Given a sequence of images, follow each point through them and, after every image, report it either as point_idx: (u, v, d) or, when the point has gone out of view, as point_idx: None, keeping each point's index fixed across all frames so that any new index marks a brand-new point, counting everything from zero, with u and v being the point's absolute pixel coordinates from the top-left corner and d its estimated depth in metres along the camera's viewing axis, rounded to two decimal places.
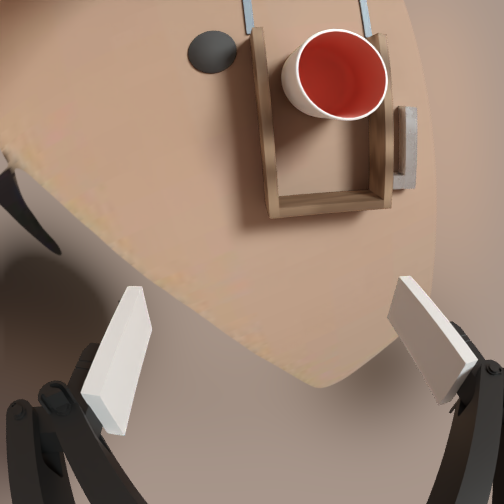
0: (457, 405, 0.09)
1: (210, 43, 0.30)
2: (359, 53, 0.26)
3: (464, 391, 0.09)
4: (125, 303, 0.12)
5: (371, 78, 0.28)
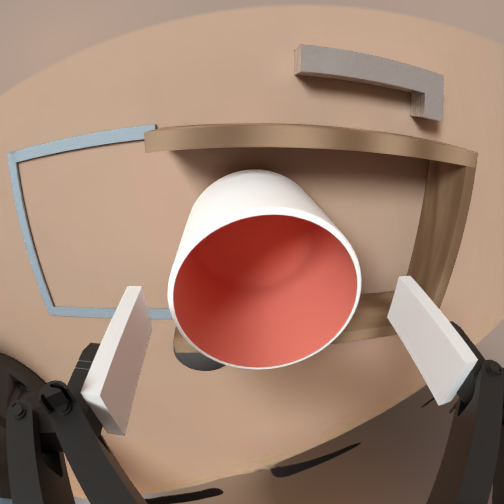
0: (457, 405, 0.09)
1: None
2: None
3: (464, 391, 0.09)
4: (126, 303, 0.12)
5: None
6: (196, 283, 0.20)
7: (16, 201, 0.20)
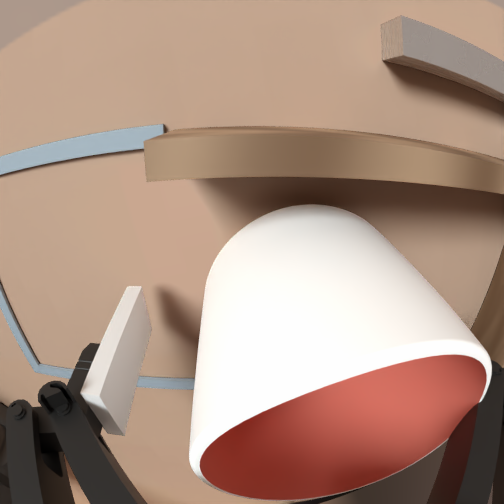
0: None
1: None
2: None
3: None
4: (125, 303, 0.12)
5: None
6: None
7: None
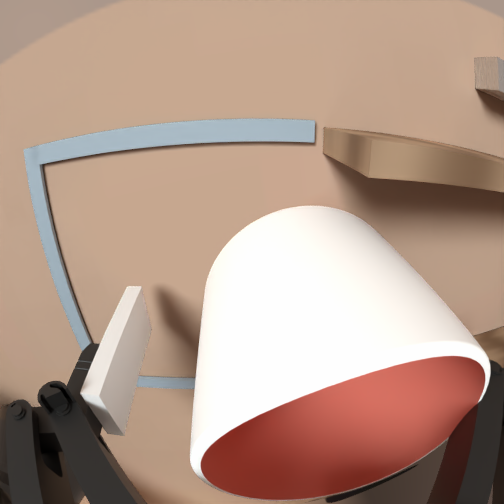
0: None
1: None
2: None
3: None
4: (125, 303, 0.12)
5: None
6: None
7: (41, 229, 0.13)
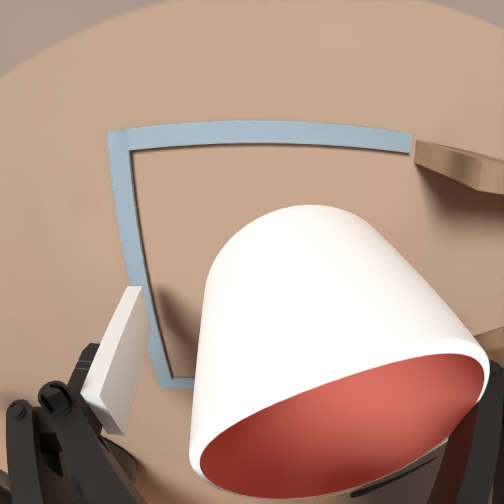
0: None
1: None
2: None
3: None
4: (125, 303, 0.12)
5: None
6: None
7: (123, 223, 0.14)
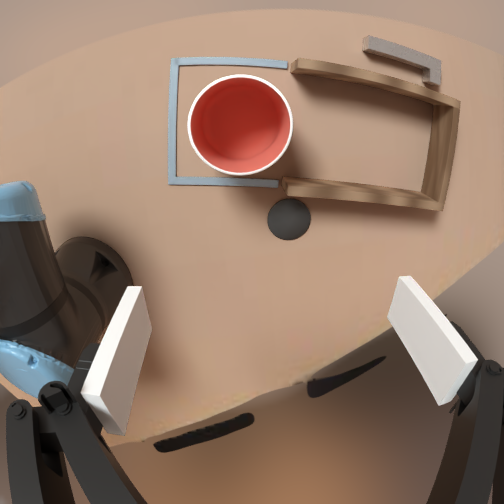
0: (457, 405, 0.09)
1: (281, 220, 0.41)
2: (211, 91, 0.28)
3: (464, 391, 0.09)
4: (125, 303, 0.12)
5: (241, 81, 0.27)
6: (202, 140, 0.32)
7: (171, 91, 0.32)
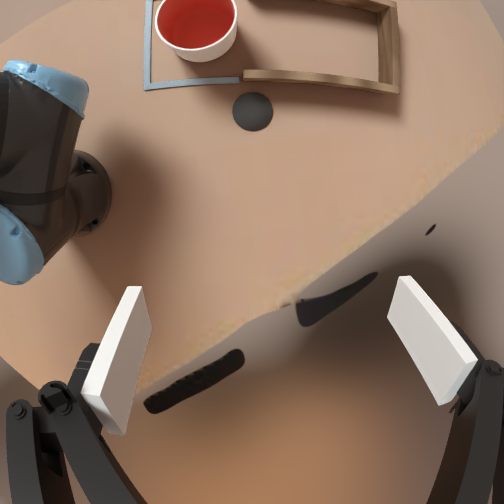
0: (457, 405, 0.09)
1: (245, 111, 0.41)
2: (175, 4, 0.28)
3: (464, 391, 0.09)
4: (126, 302, 0.12)
5: None
6: (169, 43, 0.32)
7: (146, 18, 0.33)
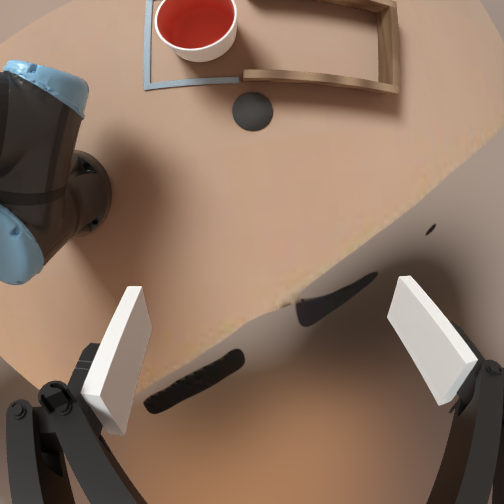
0: (457, 405, 0.09)
1: (245, 111, 0.41)
2: (175, 4, 0.28)
3: (464, 391, 0.09)
4: (125, 302, 0.12)
5: None
6: (169, 43, 0.32)
7: (146, 18, 0.33)
